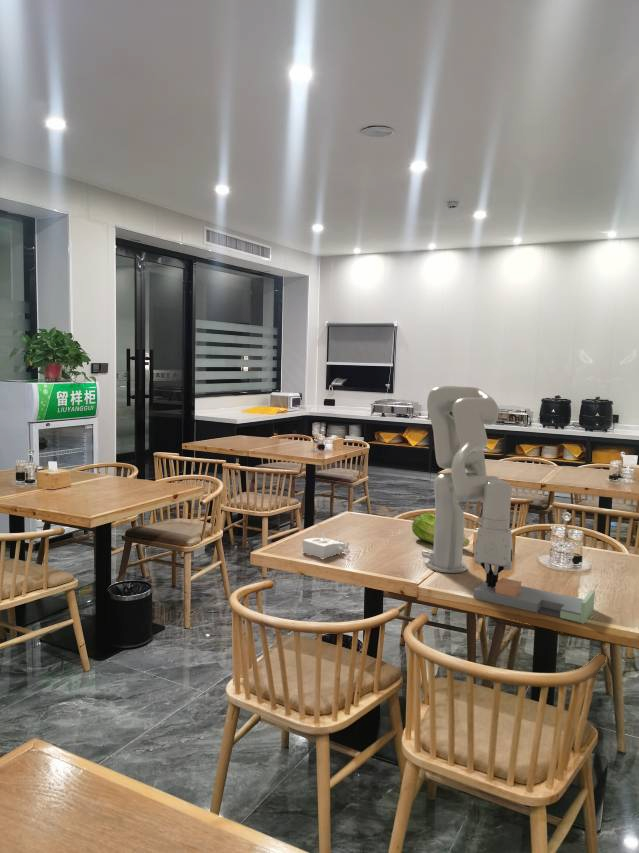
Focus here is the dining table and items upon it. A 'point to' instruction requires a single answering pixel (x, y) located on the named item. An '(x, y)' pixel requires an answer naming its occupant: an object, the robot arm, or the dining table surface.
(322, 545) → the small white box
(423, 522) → the lettuce
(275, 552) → the dining table surface
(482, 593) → the grey stepped platform
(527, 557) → the dining table surface
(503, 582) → the block
